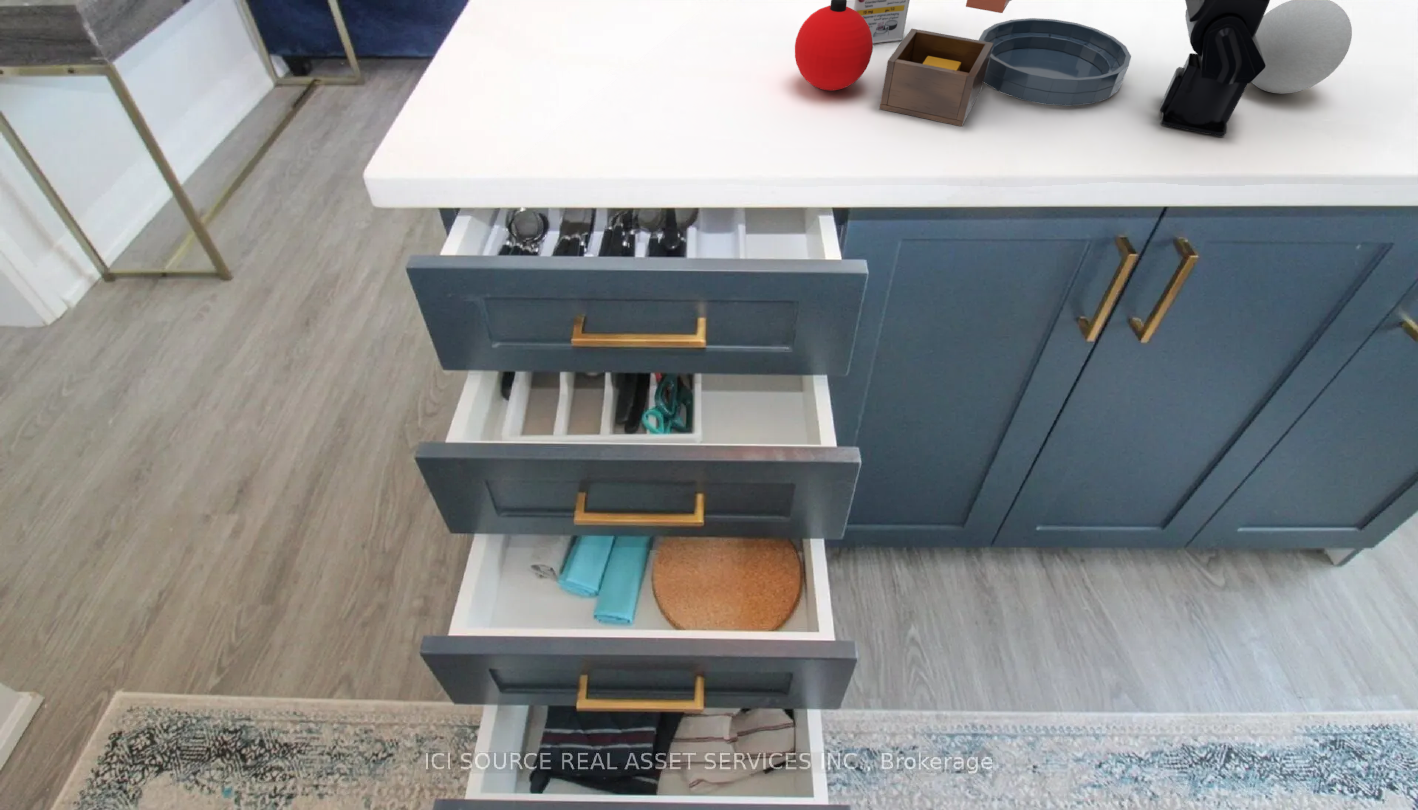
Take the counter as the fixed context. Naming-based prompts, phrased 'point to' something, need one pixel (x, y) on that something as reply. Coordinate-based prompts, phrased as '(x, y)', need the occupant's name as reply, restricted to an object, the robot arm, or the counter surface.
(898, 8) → the container
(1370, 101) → the counter surface
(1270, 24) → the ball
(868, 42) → the ornament
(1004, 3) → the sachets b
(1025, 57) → the bowl
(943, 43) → the holder
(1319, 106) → the counter surface
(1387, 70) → the counter surface
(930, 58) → the yellow block
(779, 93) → the counter surface
